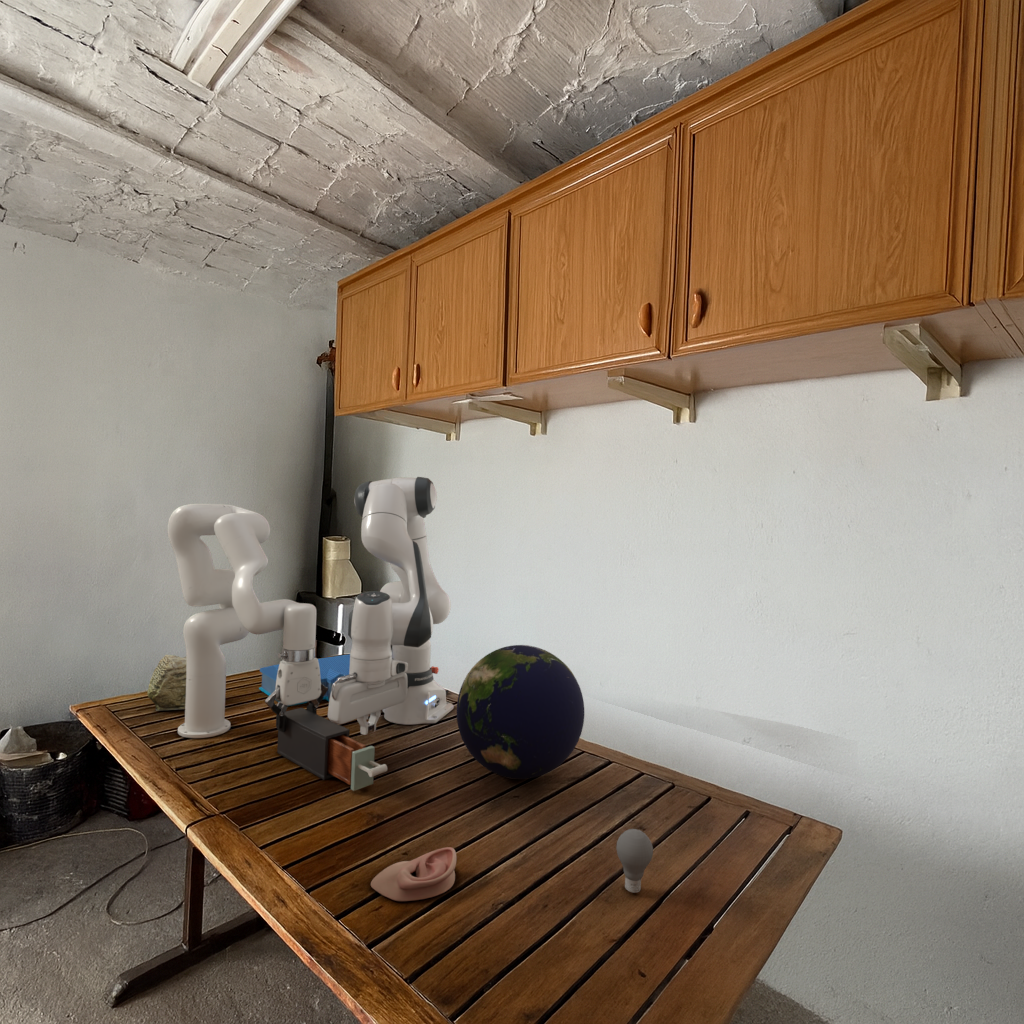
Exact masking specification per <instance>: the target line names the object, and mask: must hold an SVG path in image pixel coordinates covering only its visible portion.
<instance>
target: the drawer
mask: <svg viewBox="0 0 1024 1024" xmlns="http://www.w3.org/2000/svg"><path fill="white" fill-rule="evenodd" d="M375 748H376V747H375V746H373V745H369V746H367V745H366V744H363V743H361V742H359V741H357V740H355V739H353V738H350V736H349V737H347V736H345V735H340V736H336V737H333V738H329V739H328V760H327V773H329V774H331V775H333V776H334V778H337V779H338V780H340V781H341V782H344V783H345V784H346V785H349V786H350V790H351V791H353V792H355V791H358V790H360V789H363V788H366V787H368V786H371V785H373V784H374V777H376V776H379V775H381V774H384V773H387V772H388V765H387V764H386V763H383V764H381V763H378V762H376V761H375V752H376V751H375V750H376V749H375Z"/></svg>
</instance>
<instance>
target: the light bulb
mask: <svg viewBox="0 0 1024 1024" xmlns="http://www.w3.org/2000/svg"><path fill="white" fill-rule="evenodd" d="M615 849H616V854H617V857H618V859H619V861H620V863H621V865H622V867H623V873H624V874H623V875H624V876H625V878H624V888H625V890H627V891H628V892H630V893H634V894H635V893H639V892H640V891H641V889H642V887H641V886H642V879H643V877H644V875H645V871H646V868H647V867H648V866H649V864H650V863H651V861H652V859H653V855H654V847H653V843H652V841H651V838H649V836H648V835H647V834H646V833H645V832H643V831H642V830H641V829H636V828H629V829H627V830H625V831H623V832H622V833H621V834H620V835H619V837H618V839H617V841H616V847H615Z"/></svg>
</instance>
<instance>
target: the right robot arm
mask: <svg viewBox="0 0 1024 1024" xmlns="http://www.w3.org/2000/svg"><path fill="white" fill-rule="evenodd" d="M437 493H438V492H437V490H436V487H435V485H434V482H433V481H432V480H431V479H430V478H428V477H425V476H424V477H423V476H417V477H407V476H405V477H401V476H400V477H393V478H386V479H380V480H379V479H378V480H374V481H372V480H369V481H365V482H362V483H360V484H359V485H358V487H357V488H356V489H355V493H354V507H355V510H356V512H357V514H358V515H359V516H360V517H361V525H360V526H361V528H360V532H361V533H360V535H361V537H360V538H361V542H362V545H363V547H364V548H365V549H366V551H367V552H368V553H370V554H371V555H372V556H374V557H375V558H377V559H379V560H380V561H383V562H386V563H389V565H390V567H391V569H392V570H393V571H394V572H395V574H396V575H397V576H398V578H399V580H396V581H390V582H387V583H386V584H384V585H383V586H382V587H381V588H380V590H379V591H377V590H374V591H373V590H370V591H365V592H364V591H363V592H361V593H359V594H358V595H356V597H355V599H354V605H353V609H352V610H351V611H350V612H349V614H348V627H347V628H348V630H347V631H348V632H347V635H348V637H349V638H350V640H351V643H352V644H351V650H350V652H349V654H350V669H349V675H347V676H342V677H339V678H338V679H337V681H335V683H334V684H333V685H332V691H331V695H330V700H329V701H328V706H327V707H328V708H327V718H328V720H330V721H331V722H334V723H336V724H338V725H343V724H346V723H349V722H351V721H354V720H357V723H358V725H359V726H360V727H359V730H360V731H359V733H360V734H361V735H363V736H366V735H369V734H372V733H374V732H376V731H377V723H378V721H379V719H380V717H381V713H383V714H384V715H383V718H384V719H385V720H386V721H388V722H390V723H393V724H398V725H421V724H436V723H438V722H439V721H440V720H442V719H443V718H444V717H445V716H446V715H448V714H449V713H450V712H451V711H453V710H454V709H455V706H454V704H453V703H451V702H449V701H447V694H448V693H449V689H445V688H444V687H443V686H442V685H441V684H439V682H438V681H436V680H435V679H434V674H435V675H437V674H438V673H439V670H440V669H439V666H434V665H433V666H431V655H432V641H431V639H432V635H433V631H434V625H439V624H442V623H443V622H445V621H446V620H447V618H448V616H449V615H450V613H451V607H452V602H451V599H450V596H449V594H448V593H447V592H446V591H445V589H443V588H442V587H441V585H440V583H439V581H438V579H437V577H436V575H435V572H434V571H433V568H432V565H431V561H430V555H429V547H428V538H427V530H426V529H427V528H426V523H425V518H426V517H427V516H428V515H430V514H432V512H433V511H434V510H435V508H436V505H437V500H438V494H437ZM337 682H338V683H337ZM369 715H370V716H369ZM367 720H368V721H367Z"/></svg>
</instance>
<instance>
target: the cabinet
mask: <svg viewBox="0 0 1024 1024" xmlns="http://www.w3.org/2000/svg"><path fill="white" fill-rule="evenodd" d="M284 715H286V716H287V719H286V731H285V732H281V731H279V730H278V729H277V750H276V753H277V754H278V755H280V756H282V757H284V758H285V759H287V760H289V761H290V762H292V763H294V764H296V765H297V766H299V767H300V768H303V769H304V770H306V771H308V772H309V773H311V774H313V775H315V776H316V777H318V778H319V779H321V780H323V781H325V780H329V779H332V778H335V776H333V775H331V774H329V773H327V760H328V739H329V738H333V737H336V736H340V735H345V736H347V737H349V738H350V729H349V728H346V727H344V726H343V725H341V724H337V723H334V722H331V721H330V720H329V719H327V718H325V717H323V716H321V715H318V714H317V713H316V714H315V713H312V712H310V711H308V710H307V708H304V707H298V708H294V709H291V710H286V712H285V714H284Z"/></svg>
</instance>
